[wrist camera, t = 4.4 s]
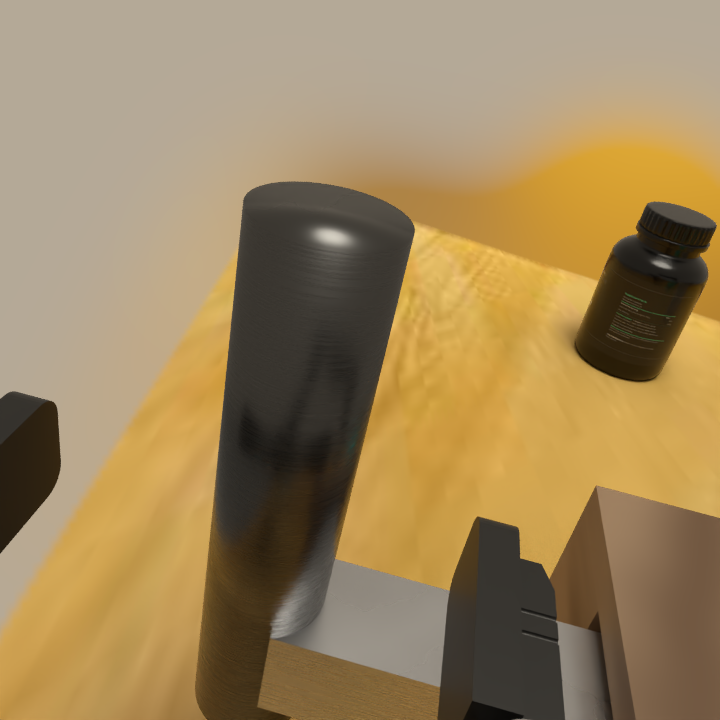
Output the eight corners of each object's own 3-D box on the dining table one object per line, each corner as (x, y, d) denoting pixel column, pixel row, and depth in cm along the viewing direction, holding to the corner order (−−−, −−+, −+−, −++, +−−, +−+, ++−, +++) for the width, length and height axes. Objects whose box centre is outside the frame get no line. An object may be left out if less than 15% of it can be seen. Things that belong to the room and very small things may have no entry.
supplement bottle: (584, 325, 58) (641, 188, 52) (665, 358, 56) (736, 219, 49) (563, 356, 52) (624, 208, 46) (652, 394, 50) (728, 243, 44)
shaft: (898, 820, 21) (1373, 439, 13) (956, 950, 18) (1603, 569, 10) (217, 625, 22) (272, 170, 14) (177, 718, 19) (217, 219, 11)
